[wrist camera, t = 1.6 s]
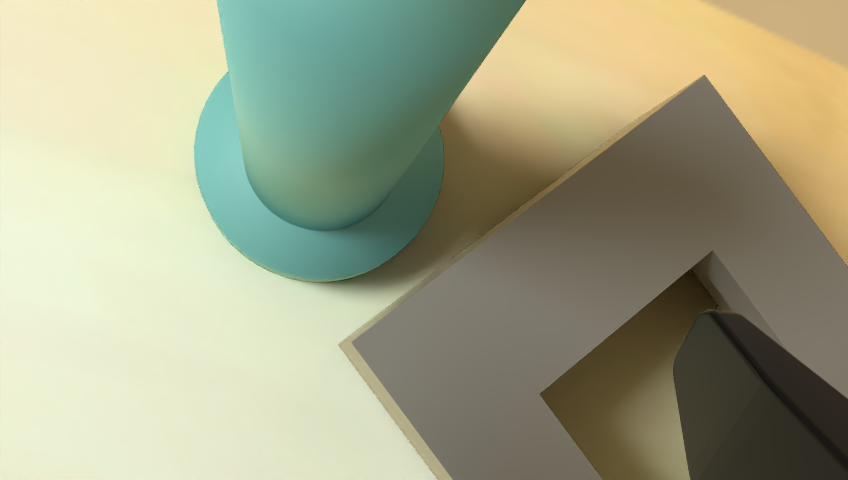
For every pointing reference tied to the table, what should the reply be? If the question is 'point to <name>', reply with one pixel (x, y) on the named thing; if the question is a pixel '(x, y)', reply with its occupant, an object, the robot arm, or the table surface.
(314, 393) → the table surface
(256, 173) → the peg
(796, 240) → the keyhole plate
